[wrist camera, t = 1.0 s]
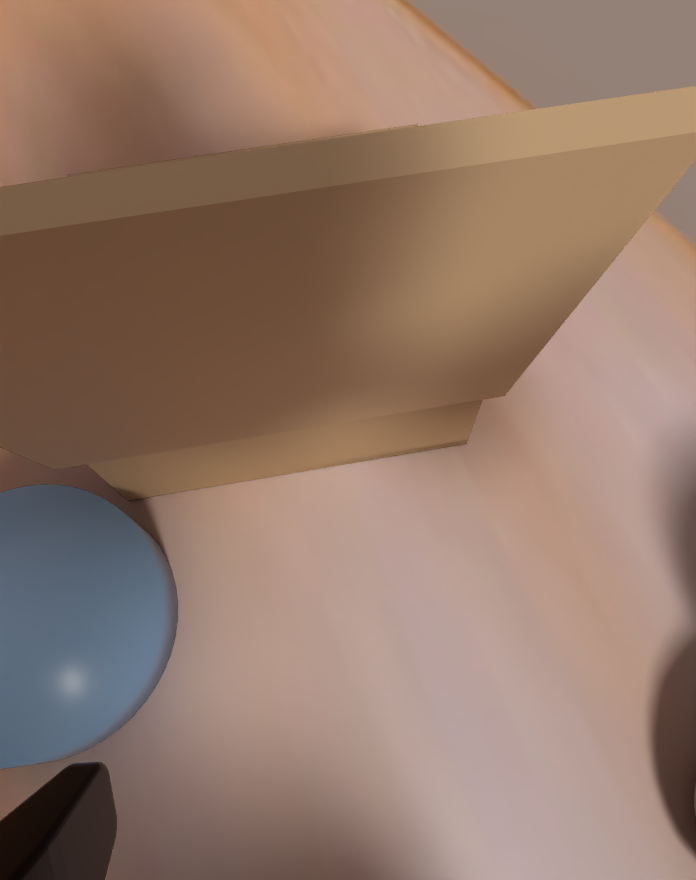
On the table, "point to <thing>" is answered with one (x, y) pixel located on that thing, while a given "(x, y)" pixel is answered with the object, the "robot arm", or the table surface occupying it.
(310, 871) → the table surface
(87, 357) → the lid flap
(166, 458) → the carton
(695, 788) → the ceramic mug
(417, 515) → the table surface
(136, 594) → the blue rounded dome
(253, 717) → the table surface
